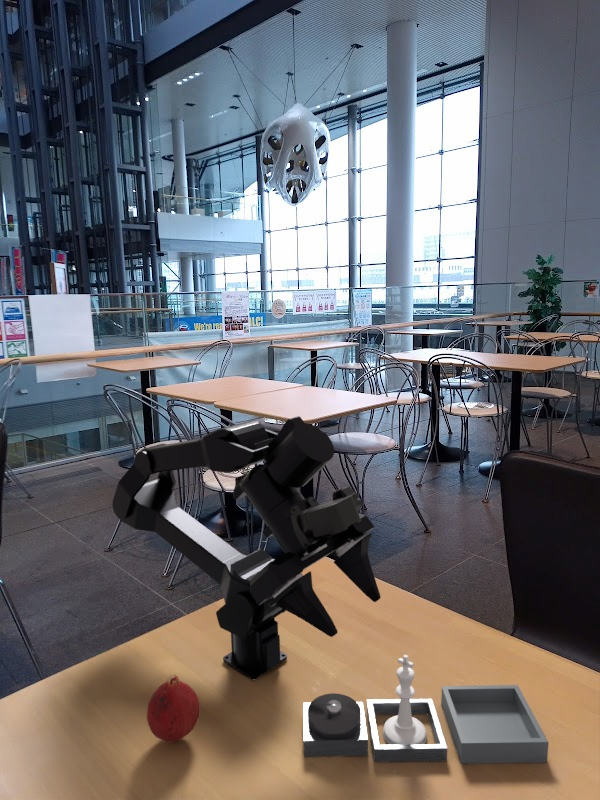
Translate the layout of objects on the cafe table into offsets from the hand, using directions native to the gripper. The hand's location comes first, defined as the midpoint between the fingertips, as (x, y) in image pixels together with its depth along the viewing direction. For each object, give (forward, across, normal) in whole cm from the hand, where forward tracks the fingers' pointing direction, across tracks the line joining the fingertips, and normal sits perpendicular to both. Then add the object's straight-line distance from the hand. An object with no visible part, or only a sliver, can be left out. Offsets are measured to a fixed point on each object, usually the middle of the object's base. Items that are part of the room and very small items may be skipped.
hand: (357, 616), depth 70 cm
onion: (-1, -16, +19) cm, 25 cm away
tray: (+19, +6, -1) cm, 20 cm away
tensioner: (+11, -2, +7) cm, 13 cm away
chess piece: (+14, 0, +4) cm, 14 cm away
